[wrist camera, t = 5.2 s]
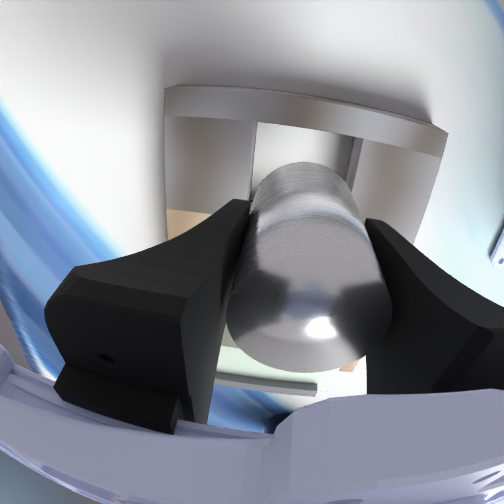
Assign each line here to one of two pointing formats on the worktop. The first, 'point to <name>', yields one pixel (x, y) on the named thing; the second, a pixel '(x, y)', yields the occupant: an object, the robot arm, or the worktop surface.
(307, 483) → the robot arm
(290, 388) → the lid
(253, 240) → the peg
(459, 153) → the worktop surface
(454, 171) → the worktop surface
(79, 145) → the worktop surface
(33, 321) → the worktop surface
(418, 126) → the housing
